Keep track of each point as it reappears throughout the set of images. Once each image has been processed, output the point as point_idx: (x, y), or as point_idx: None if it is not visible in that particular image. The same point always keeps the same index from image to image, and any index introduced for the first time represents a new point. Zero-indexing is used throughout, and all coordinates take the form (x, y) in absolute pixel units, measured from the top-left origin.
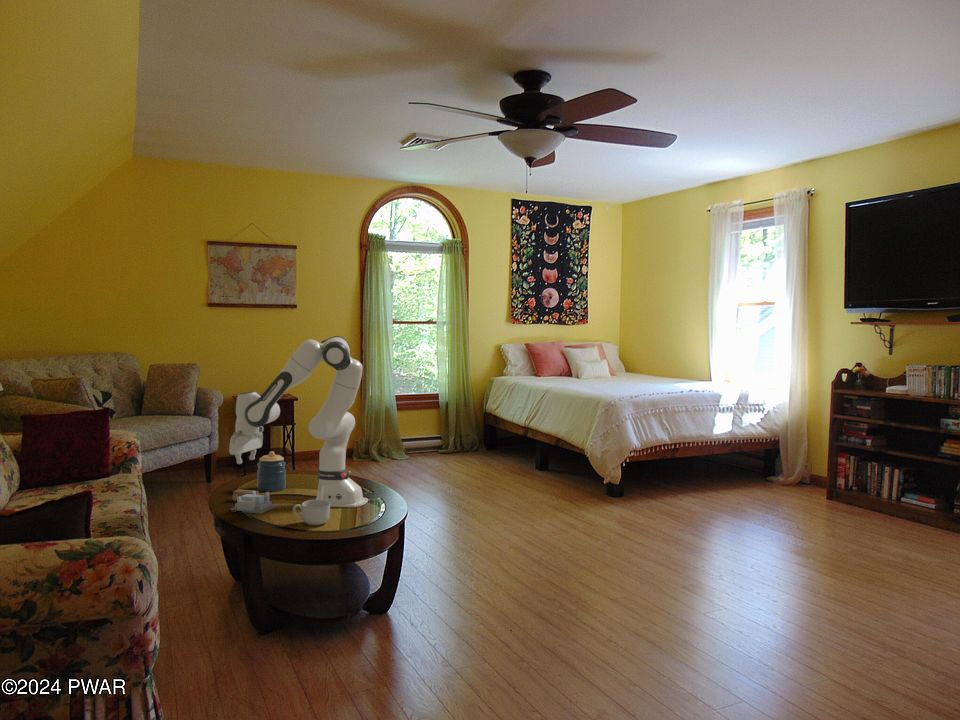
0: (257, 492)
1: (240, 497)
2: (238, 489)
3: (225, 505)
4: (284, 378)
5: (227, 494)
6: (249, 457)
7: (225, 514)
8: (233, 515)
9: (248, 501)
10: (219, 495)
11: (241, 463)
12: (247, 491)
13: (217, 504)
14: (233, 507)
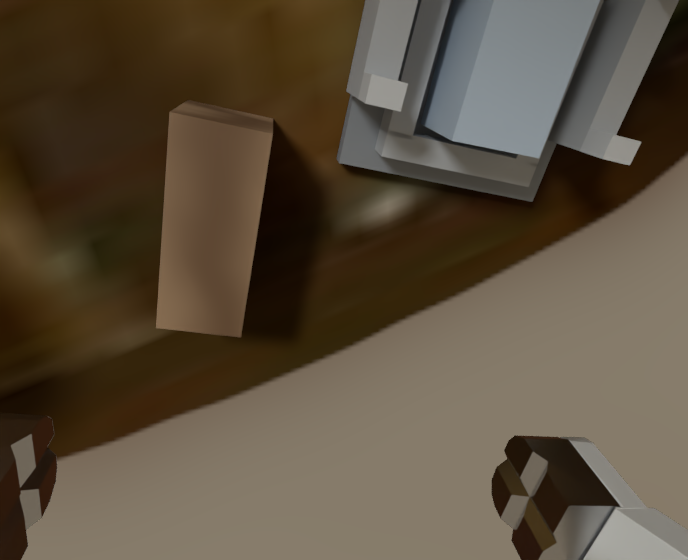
0: (198, 116)
1: (620, 136)
2: (160, 326)
3: (369, 292)
4: None
5: (62, 409)
6: (25, 535)
7: (606, 192)
8: (644, 125)
9: (640, 39)
10: (109, 437)
11: (532, 436)
12: (219, 220)
13: (346, 347)
14: (501, 194)
